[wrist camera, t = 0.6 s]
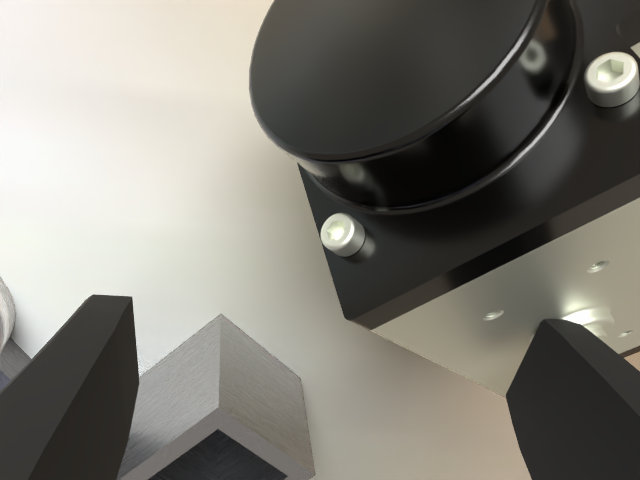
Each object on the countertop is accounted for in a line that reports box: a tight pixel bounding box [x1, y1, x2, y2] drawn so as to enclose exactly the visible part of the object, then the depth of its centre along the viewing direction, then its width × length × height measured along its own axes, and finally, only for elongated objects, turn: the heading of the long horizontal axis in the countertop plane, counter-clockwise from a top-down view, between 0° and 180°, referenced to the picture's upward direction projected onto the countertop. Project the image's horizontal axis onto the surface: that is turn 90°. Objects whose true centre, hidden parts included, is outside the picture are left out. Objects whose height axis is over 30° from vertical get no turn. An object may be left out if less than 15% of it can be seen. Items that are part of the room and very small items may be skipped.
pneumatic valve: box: [249, 0, 640, 398], centre depth 12 cm, size 6×12×12 cm, turn 41°
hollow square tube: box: [116, 314, 315, 480], centre depth 21 cm, size 5×5×5 cm
